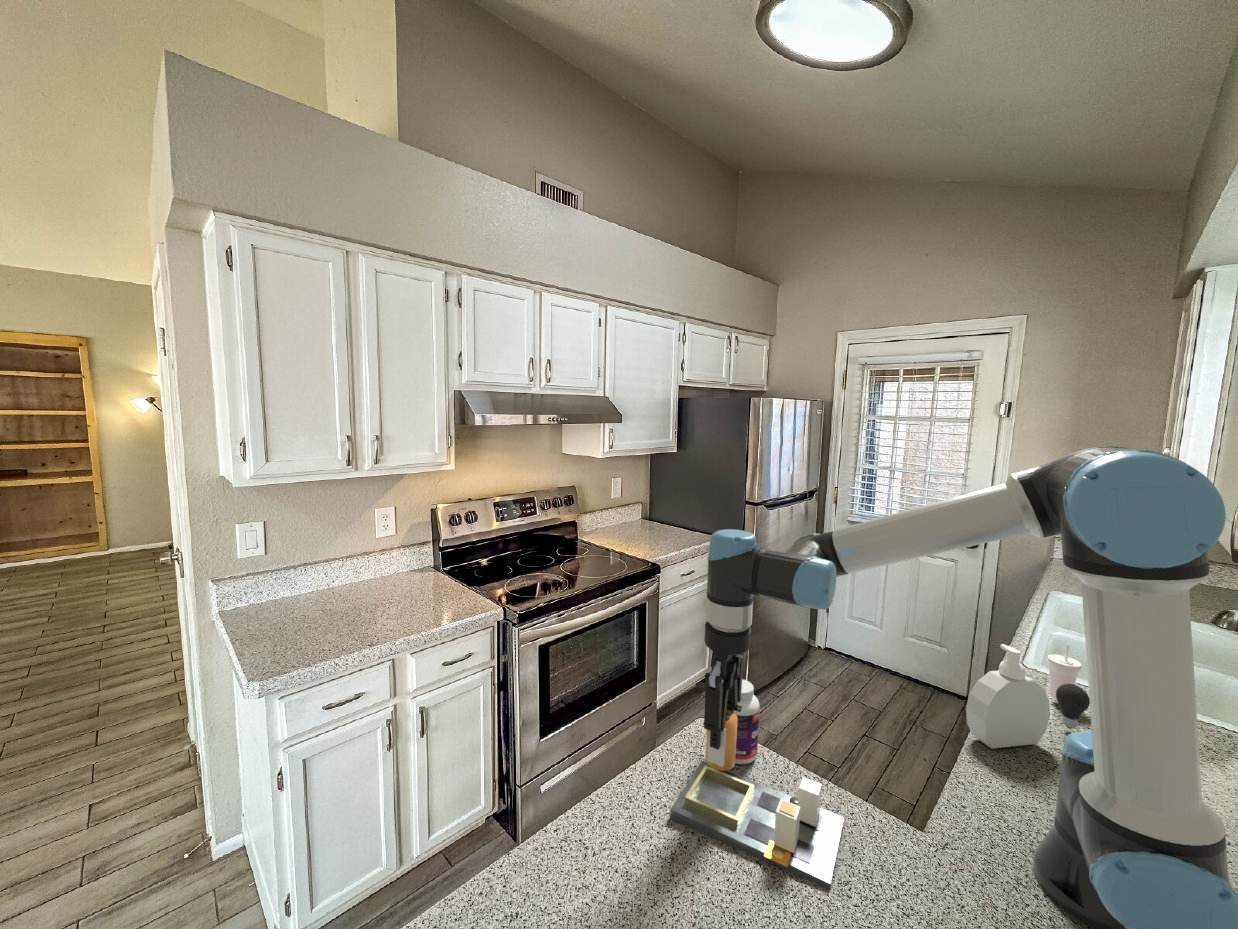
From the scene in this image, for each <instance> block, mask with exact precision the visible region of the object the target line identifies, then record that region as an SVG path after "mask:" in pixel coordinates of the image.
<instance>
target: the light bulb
mask: <svg viewBox="0 0 1238 929" xmlns="http://www.w3.org/2000/svg"><path fill="white" fill-rule="evenodd" d="M1088 694H1089V693H1087V691H1085V690H1084V689H1083V687H1080V686H1079V685H1077V684H1075V685H1074V684H1063V685H1061V686H1060V687H1058V689H1057V691H1056V698H1057V700H1056V701H1057V702H1058V704H1059V706H1060V709H1061V714H1062V718H1061V722H1062V725H1064V726H1065V727H1066V729H1068V730H1072V729H1076V728H1077V726H1078V720H1079V719H1080V717H1081V715H1082V714H1083V713H1084V712H1085V711H1087V709H1088V708H1090V700H1089V695H1088Z"/></svg>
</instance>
